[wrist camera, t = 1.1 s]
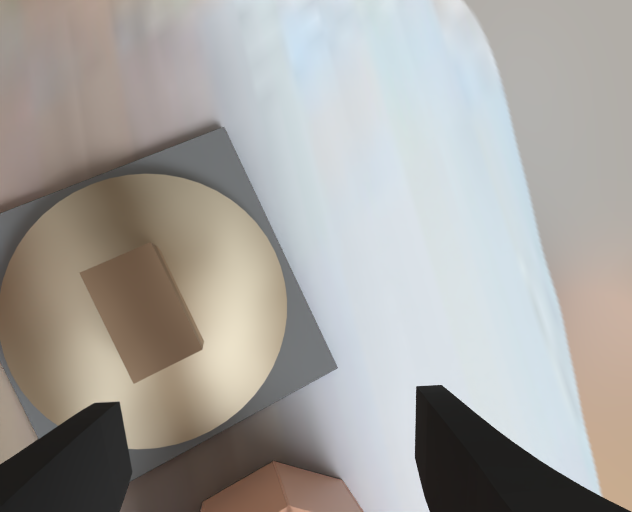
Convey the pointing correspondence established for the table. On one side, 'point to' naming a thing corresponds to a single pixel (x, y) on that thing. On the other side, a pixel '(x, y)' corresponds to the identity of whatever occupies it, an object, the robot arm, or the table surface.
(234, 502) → the bowl
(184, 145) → the mat
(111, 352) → the lid
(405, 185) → the table surface
